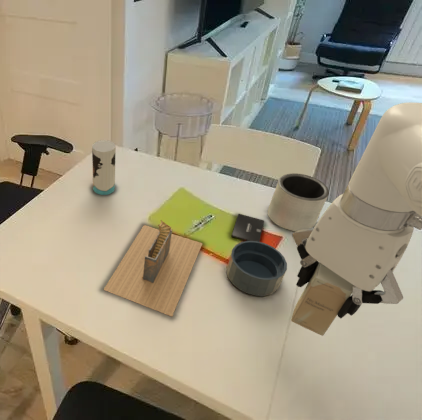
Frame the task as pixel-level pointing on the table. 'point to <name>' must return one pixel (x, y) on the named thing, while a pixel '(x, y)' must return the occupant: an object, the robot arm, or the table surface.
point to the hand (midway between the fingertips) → (323, 296)
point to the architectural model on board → (155, 269)
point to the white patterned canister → (103, 167)
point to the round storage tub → (256, 268)
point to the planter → (297, 201)
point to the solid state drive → (247, 228)
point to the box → (321, 300)
